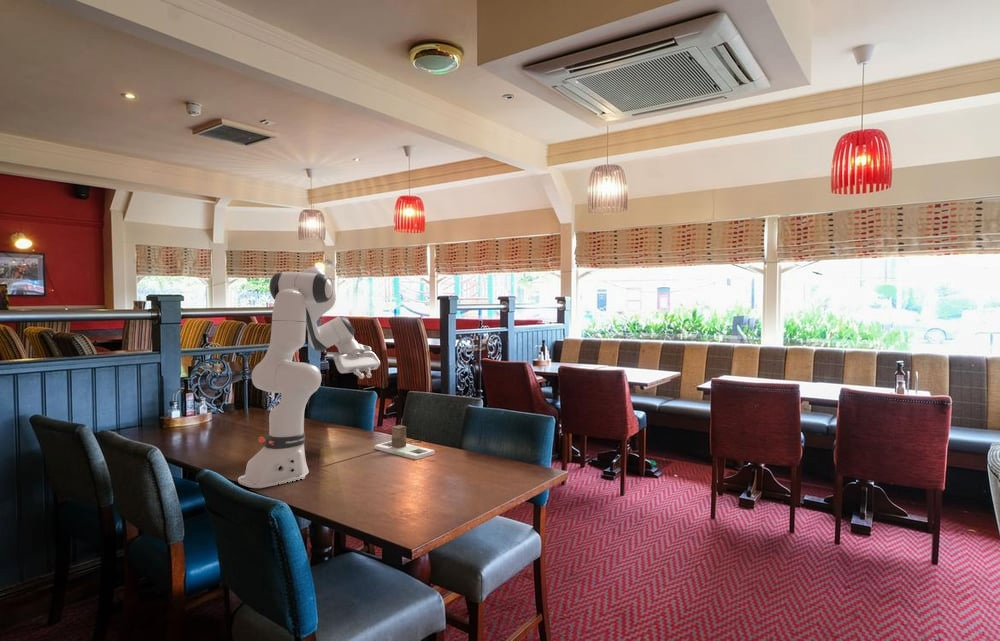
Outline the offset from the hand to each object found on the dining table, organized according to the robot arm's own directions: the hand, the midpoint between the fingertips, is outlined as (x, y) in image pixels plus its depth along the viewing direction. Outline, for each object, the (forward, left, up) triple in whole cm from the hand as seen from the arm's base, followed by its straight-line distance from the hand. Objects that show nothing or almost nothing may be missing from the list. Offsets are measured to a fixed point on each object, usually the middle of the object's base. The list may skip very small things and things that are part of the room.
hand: (366, 377), depth 235 cm
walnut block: (0, -20, -26) cm, 33 cm away
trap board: (0, -23, -27) cm, 36 cm away
